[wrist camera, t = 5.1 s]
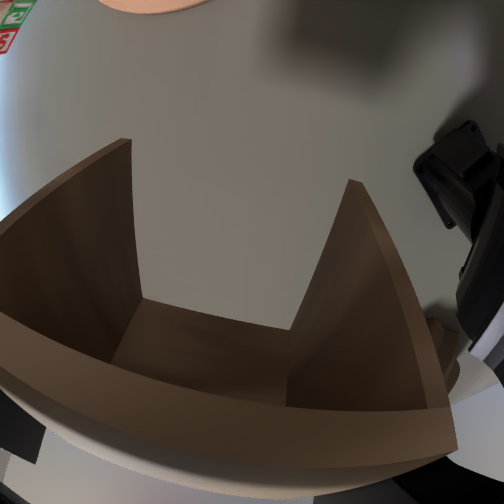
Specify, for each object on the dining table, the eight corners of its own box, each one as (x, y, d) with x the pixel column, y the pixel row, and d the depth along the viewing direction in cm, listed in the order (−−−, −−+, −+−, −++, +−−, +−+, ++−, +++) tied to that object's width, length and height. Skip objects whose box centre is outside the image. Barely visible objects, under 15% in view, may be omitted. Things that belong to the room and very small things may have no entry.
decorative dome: (328, 405, 39) (328, 461, 31) (299, 337, 29) (296, 425, 21) (443, 379, 33) (455, 434, 25) (469, 296, 23) (502, 374, 15)
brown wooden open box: (361, 182, 7) (458, 449, 2) (296, 337, 12) (286, 499, 6) (120, 138, 7) (-72, 300, 2) (135, 301, 12) (71, 443, 6)
